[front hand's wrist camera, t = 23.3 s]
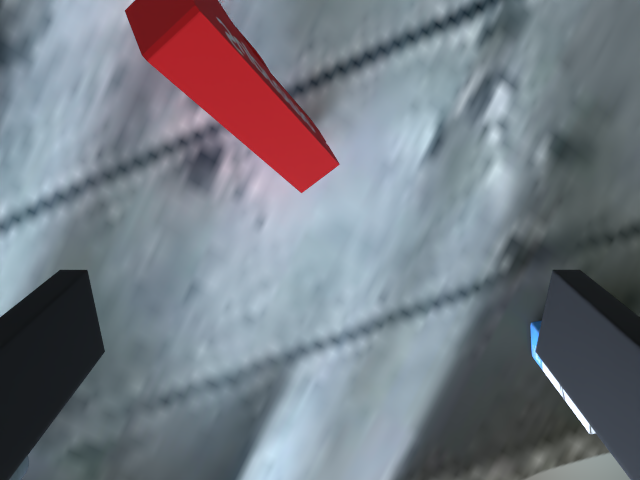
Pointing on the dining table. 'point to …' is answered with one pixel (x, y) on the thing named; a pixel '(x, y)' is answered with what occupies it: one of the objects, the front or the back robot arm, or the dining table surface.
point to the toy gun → (230, 84)
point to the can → (21, 470)
